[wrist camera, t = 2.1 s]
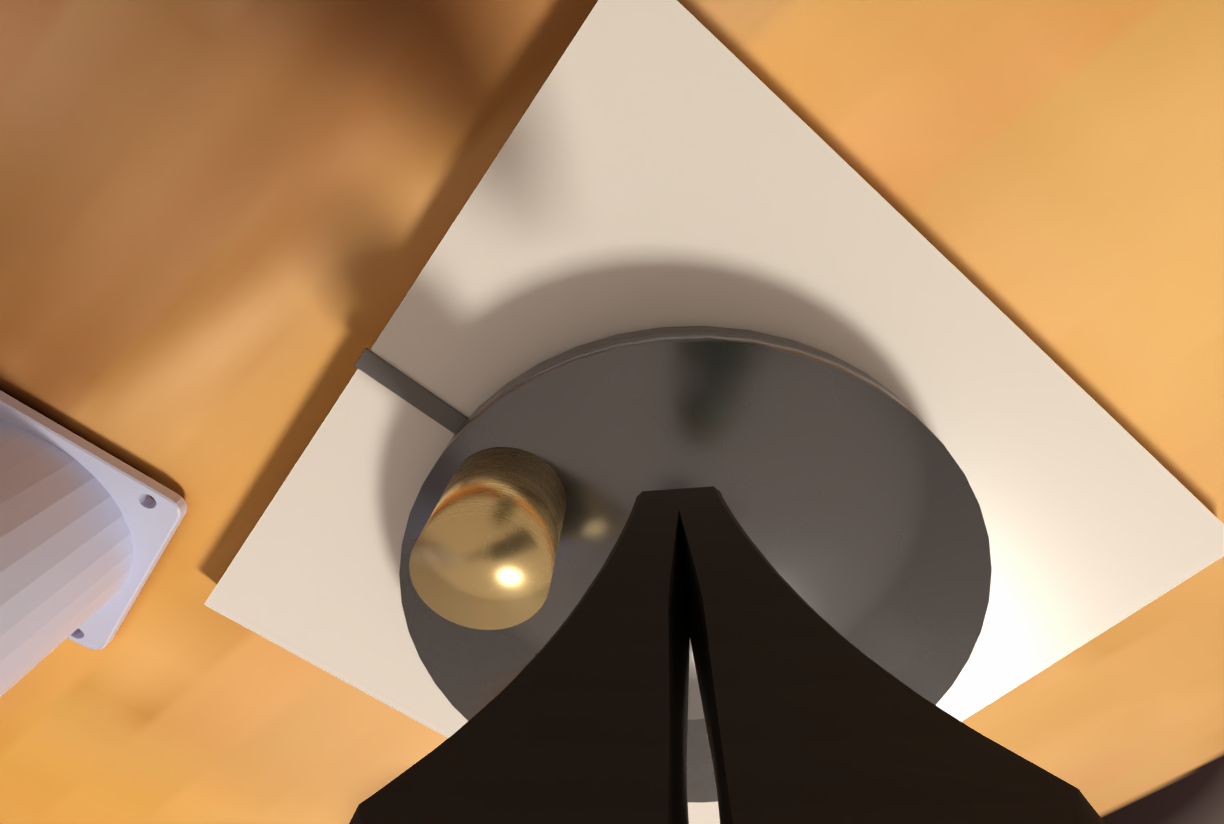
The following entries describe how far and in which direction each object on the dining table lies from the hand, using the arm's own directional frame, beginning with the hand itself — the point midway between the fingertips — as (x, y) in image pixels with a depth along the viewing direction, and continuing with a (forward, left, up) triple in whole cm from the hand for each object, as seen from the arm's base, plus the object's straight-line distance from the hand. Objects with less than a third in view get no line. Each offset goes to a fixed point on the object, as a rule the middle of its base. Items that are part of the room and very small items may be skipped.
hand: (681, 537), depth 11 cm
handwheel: (+4, -4, -6) cm, 8 cm away
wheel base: (+4, -4, -7) cm, 9 cm away
